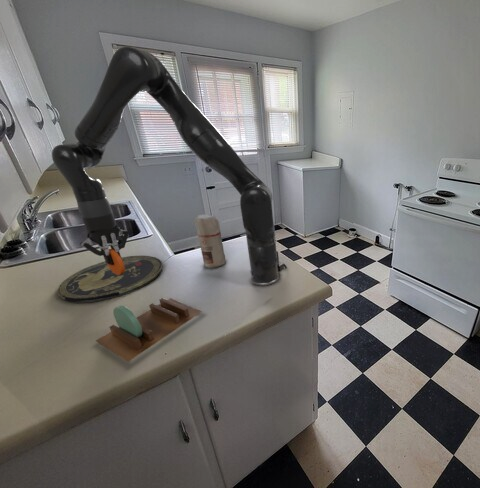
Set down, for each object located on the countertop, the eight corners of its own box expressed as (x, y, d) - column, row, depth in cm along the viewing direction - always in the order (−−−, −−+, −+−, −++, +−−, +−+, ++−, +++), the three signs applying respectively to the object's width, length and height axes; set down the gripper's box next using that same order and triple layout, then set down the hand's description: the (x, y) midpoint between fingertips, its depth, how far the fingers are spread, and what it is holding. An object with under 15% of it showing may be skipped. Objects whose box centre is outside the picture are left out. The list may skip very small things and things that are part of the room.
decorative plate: (153, 248, 115) (170, 275, 94) (154, 252, 115) (172, 280, 94) (59, 271, 97) (54, 311, 76) (61, 276, 98) (57, 317, 77)
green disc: (125, 329, 70) (114, 300, 66) (146, 341, 66) (135, 311, 62) (120, 332, 69) (108, 303, 65) (141, 344, 65) (130, 314, 61)
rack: (171, 302, 83) (168, 291, 81) (203, 315, 77) (200, 304, 75) (97, 345, 67) (91, 332, 65) (130, 366, 61) (124, 353, 59)
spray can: (199, 264, 105) (189, 215, 97) (219, 257, 111) (210, 210, 103) (210, 271, 100) (200, 220, 92) (230, 263, 106) (222, 214, 98)
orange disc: (113, 270, 93) (104, 246, 90) (128, 276, 90) (119, 251, 86) (109, 271, 92) (100, 247, 89) (124, 277, 89) (115, 253, 85)
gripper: (76, 221, 75) (97, 275, 82) (127, 209, 86) (142, 257, 93) (63, 217, 79) (84, 269, 86) (114, 206, 90) (129, 253, 97)
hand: (114, 263), depth 89 cm, fingers closed
